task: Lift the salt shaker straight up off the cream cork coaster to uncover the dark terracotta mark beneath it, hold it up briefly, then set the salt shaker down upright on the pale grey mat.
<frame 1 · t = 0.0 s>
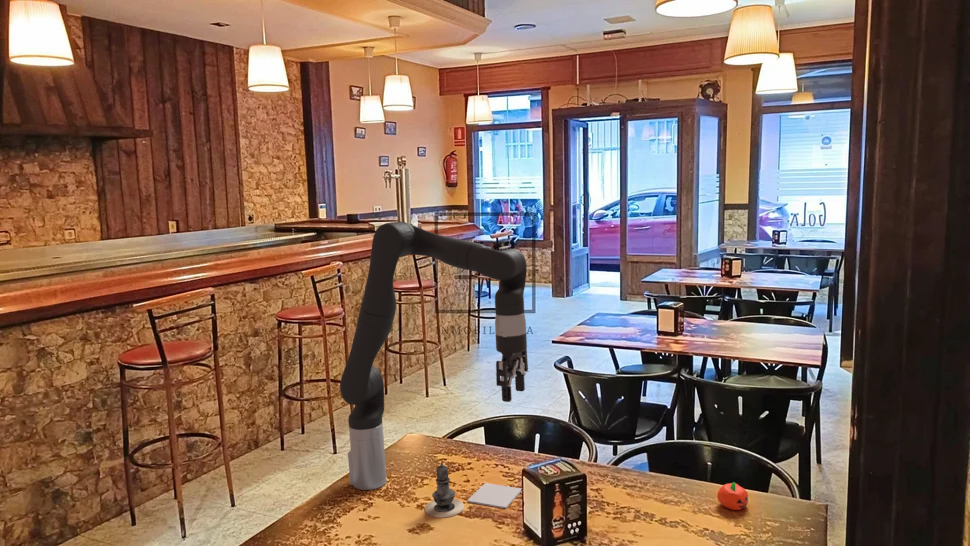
hand: (513, 395, 166), 29 cm above the table, tool pointing down, fingers open, 8 cm apart
mat: (495, 495, 177), on the table
coaster: (444, 508, 172), on the table
halloween pumpkin figurine: (732, 506, 166), on the table
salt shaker: (444, 508, 172), resting on coaster
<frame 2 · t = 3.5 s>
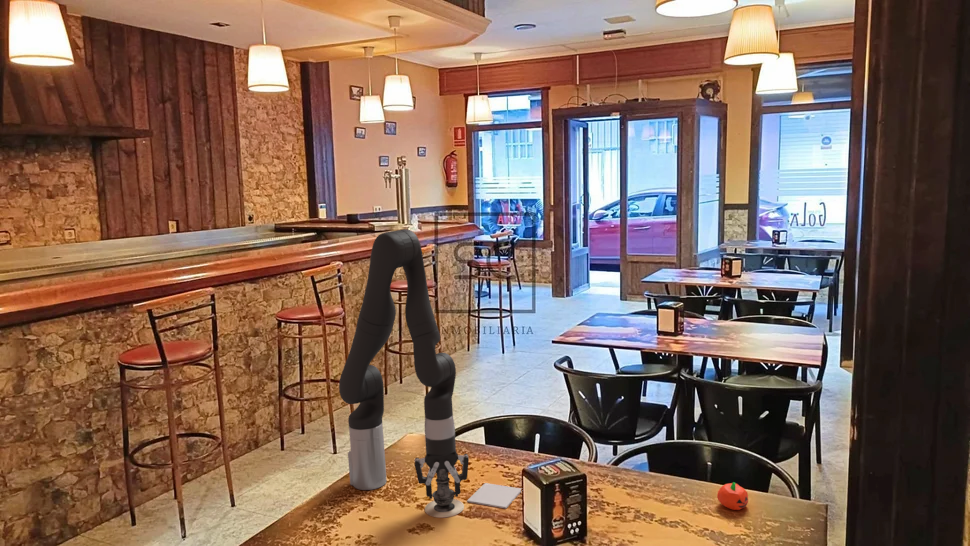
hand: (443, 496, 171), 3 cm above the table, tool pointing down, fingers closed on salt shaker, 6 cm apart
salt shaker: (444, 508, 172), resting on coaster, touching gripper
everything else where it was.
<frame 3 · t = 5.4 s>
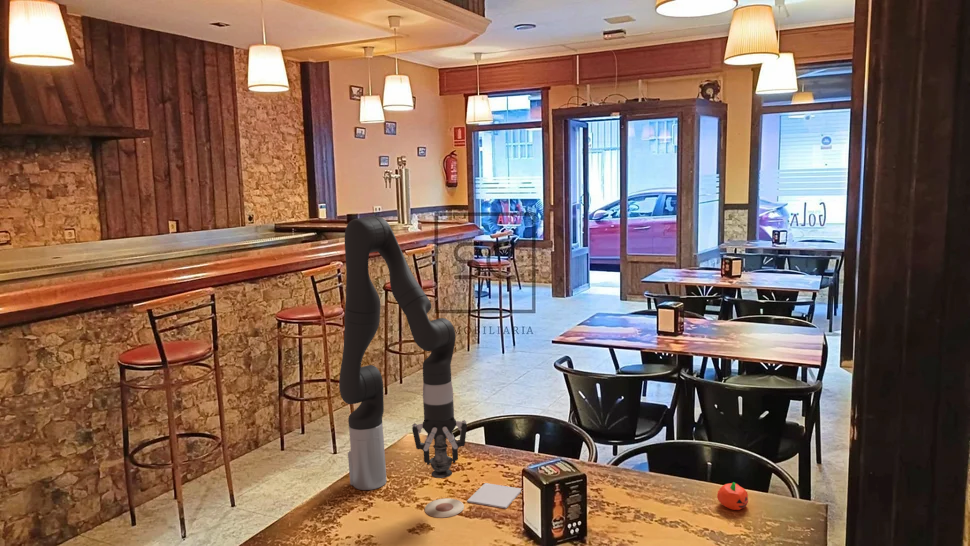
hand: (441, 462, 171), 12 cm above the table, tool pointing down, fingers closed on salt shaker, 6 cm apart
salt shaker: (441, 474, 171), point 9 cm above the table, touching gripper
everything else where it was.
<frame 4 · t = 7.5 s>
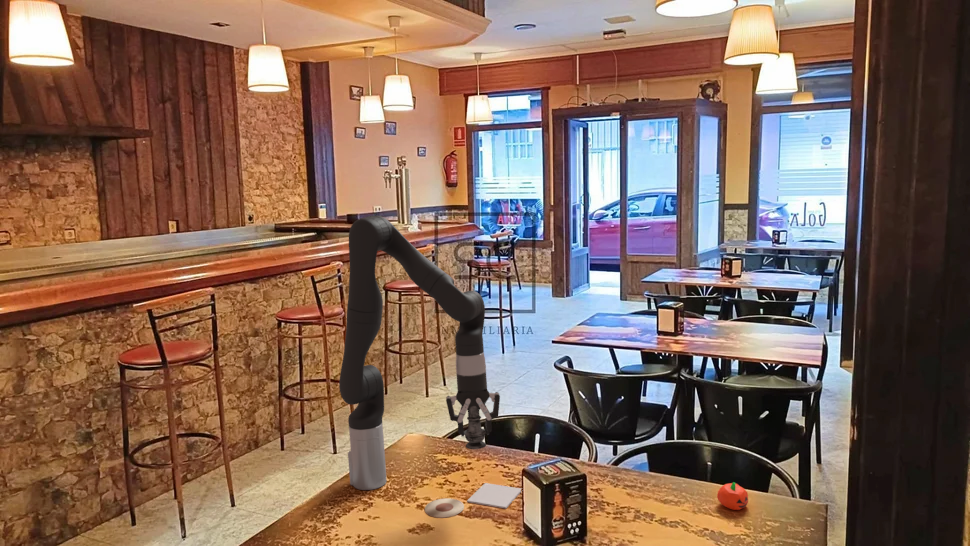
hand: (475, 434, 172), 18 cm above the table, tool pointing down, fingers closed on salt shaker, 6 cm apart
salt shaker: (475, 446, 173), point 15 cm above the table, touching gripper
everything else where it was.
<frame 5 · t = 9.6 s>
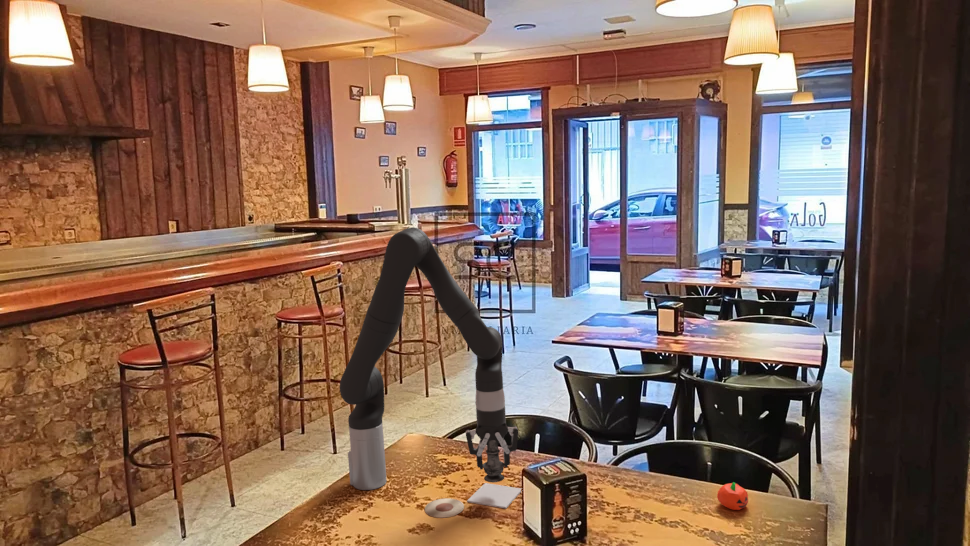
hand: (493, 467, 176), 8 cm above the table, tool pointing down, fingers closed on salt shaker, 6 cm apart
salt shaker: (494, 478, 176), point 5 cm above the table, touching gripper
everything else where it was.
when the fingers open (5 cm above the table, at t = 11.2 s): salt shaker drops 1 cm, resting on mat.
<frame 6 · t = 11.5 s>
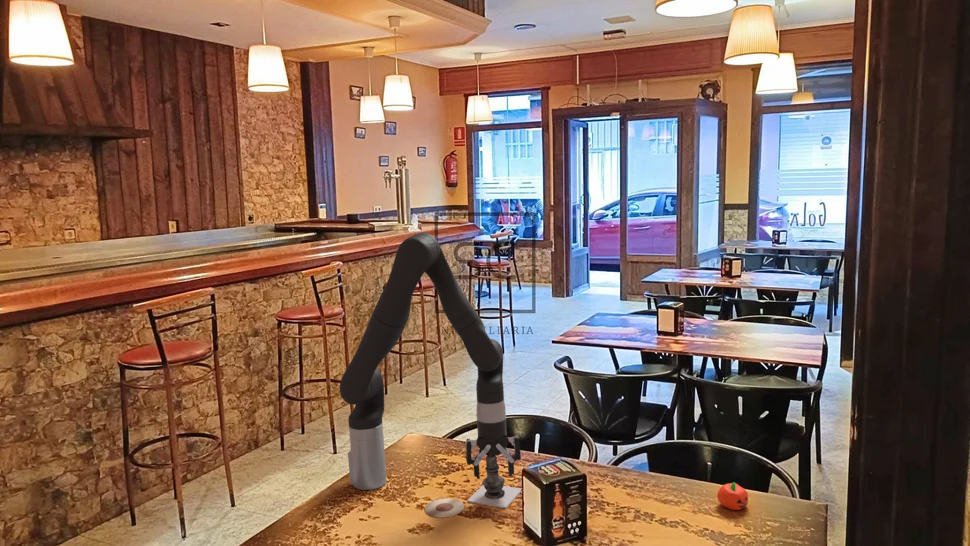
hand: (494, 476, 177), 5 cm above the table, tool pointing down, fingers open, 8 cm apart
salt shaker: (494, 494, 177), resting on mat
everything else where it was.
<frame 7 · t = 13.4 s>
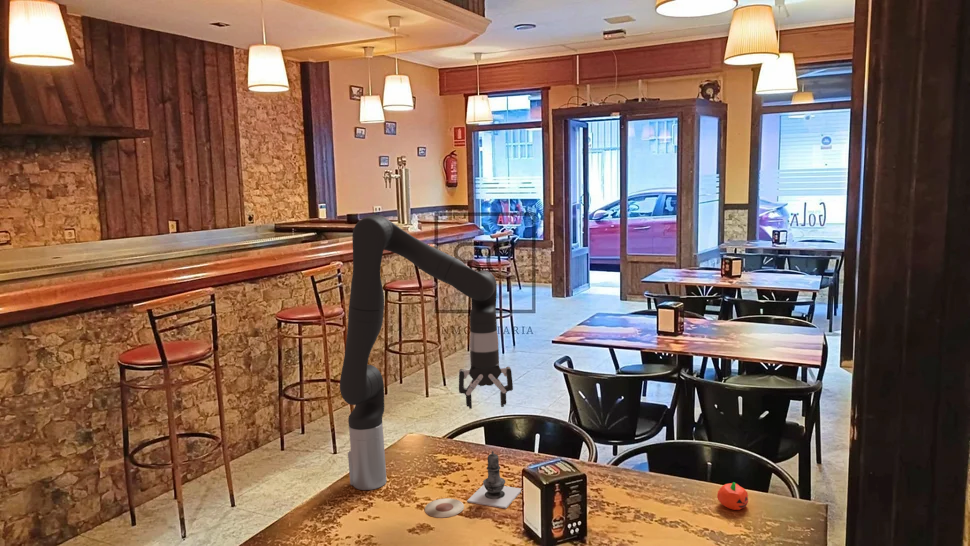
hand: (486, 406, 179), 23 cm above the table, tool pointing down, fingers open, 8 cm apart
nothing on the table moved.
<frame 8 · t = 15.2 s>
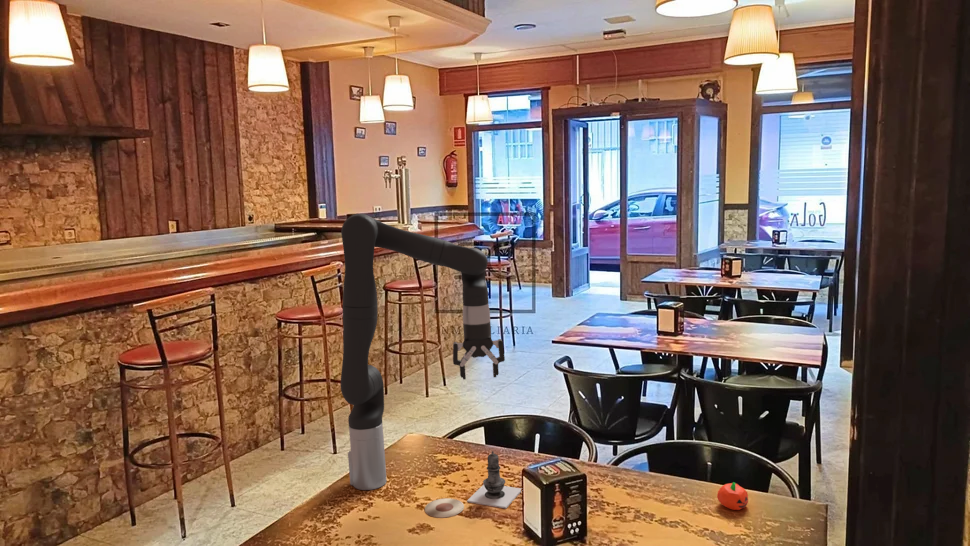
hand: (479, 377, 188), 28 cm above the table, tool pointing down, fingers open, 8 cm apart
nothing on the table moved.
at the end: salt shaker inside the target area on the mat (0.1 cm from its centre), point 0.2 cm above the mat's base; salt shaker tilted 0°; the gripper is holding nothing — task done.
